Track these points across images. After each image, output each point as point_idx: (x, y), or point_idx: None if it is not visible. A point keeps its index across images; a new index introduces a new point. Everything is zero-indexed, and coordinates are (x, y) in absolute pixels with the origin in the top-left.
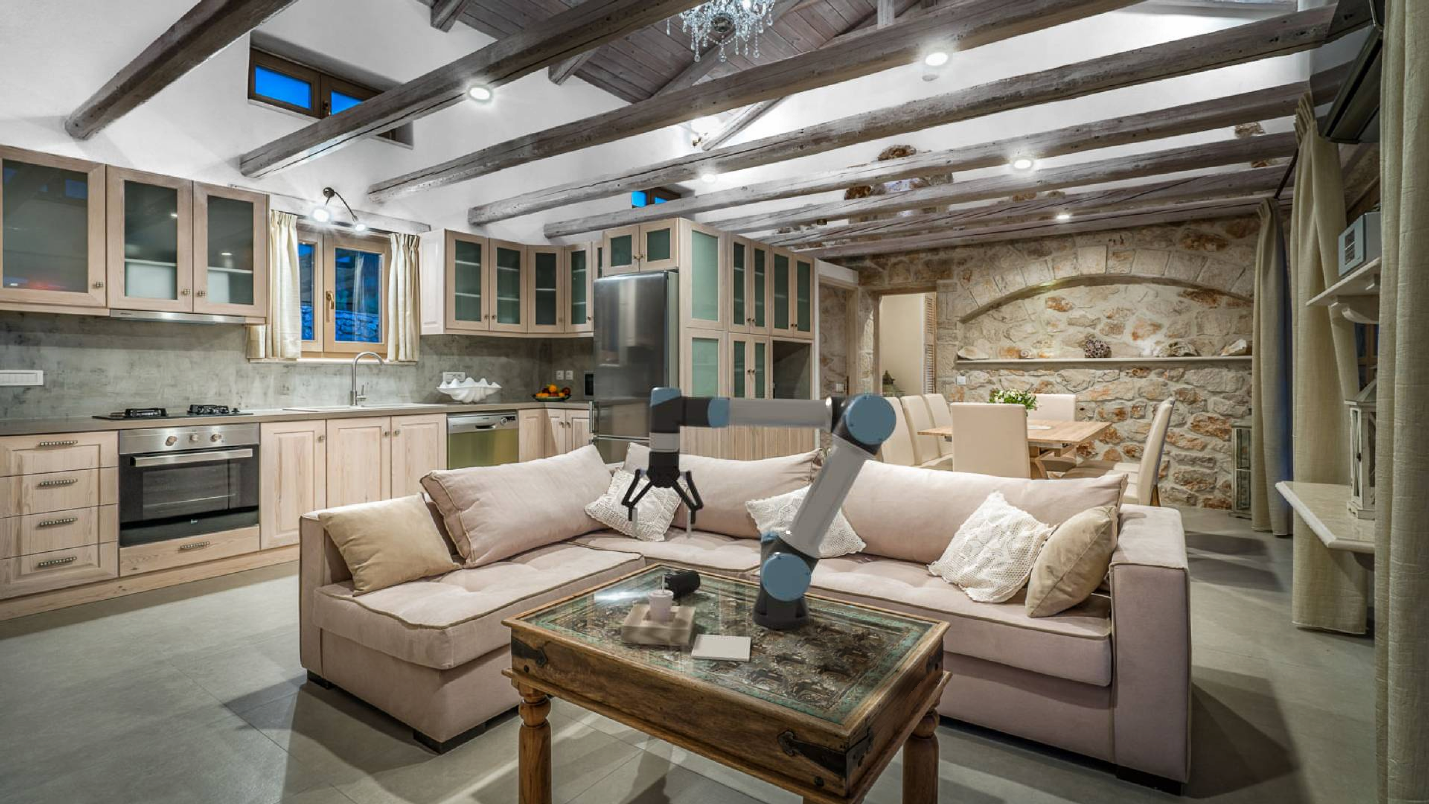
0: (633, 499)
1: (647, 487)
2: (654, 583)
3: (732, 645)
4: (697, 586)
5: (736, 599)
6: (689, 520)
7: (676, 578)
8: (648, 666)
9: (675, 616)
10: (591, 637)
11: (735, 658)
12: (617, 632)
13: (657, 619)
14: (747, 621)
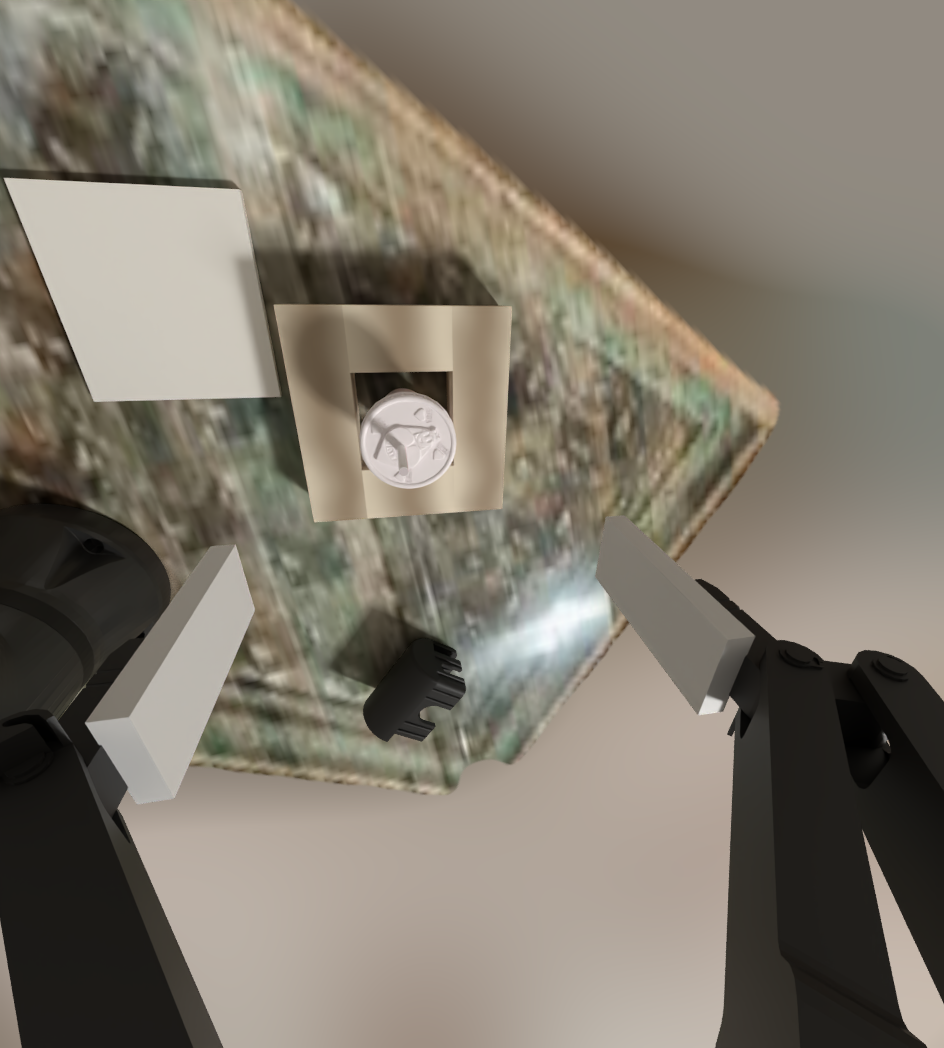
0: (838, 729)
1: (851, 1003)
2: (488, 713)
3: (125, 313)
4: (370, 695)
5: (261, 678)
6: (149, 644)
7: (419, 679)
8: (366, 83)
9: (355, 426)
10: (584, 333)
11: (62, 181)
12: (520, 385)
13: (407, 391)
14: (171, 544)
